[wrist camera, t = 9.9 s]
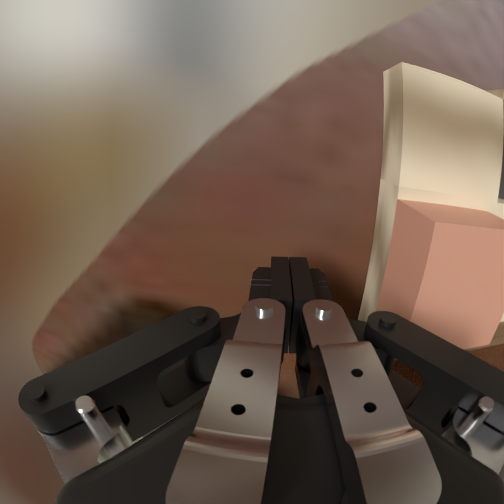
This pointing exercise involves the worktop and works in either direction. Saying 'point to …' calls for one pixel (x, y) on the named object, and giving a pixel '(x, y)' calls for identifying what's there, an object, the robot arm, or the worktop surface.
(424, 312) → the salmon pink square block
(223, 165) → the worktop surface
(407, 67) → the board
